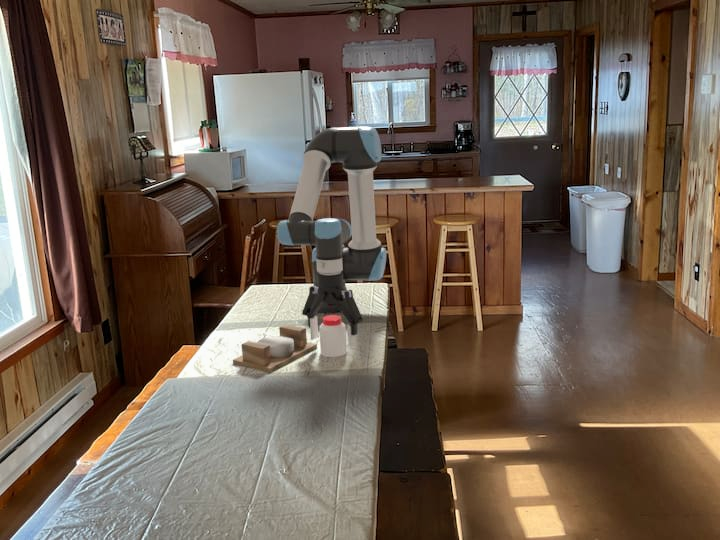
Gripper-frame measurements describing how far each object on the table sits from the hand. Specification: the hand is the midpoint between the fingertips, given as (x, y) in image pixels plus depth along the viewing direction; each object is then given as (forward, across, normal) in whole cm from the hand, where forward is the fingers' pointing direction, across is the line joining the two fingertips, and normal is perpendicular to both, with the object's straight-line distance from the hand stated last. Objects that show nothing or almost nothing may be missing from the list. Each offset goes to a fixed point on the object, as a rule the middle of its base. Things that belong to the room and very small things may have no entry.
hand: (332, 341), depth 202 cm
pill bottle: (+4, 0, 0) cm, 4 cm away
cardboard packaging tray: (+4, -14, -10) cm, 17 cm away
